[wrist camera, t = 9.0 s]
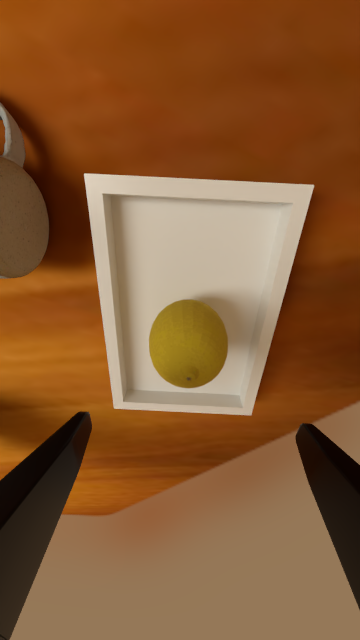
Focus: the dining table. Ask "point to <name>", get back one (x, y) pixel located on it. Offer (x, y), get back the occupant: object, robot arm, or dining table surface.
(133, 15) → the dining table surface
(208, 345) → the lemon
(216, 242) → the tray
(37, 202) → the ceramic mug
